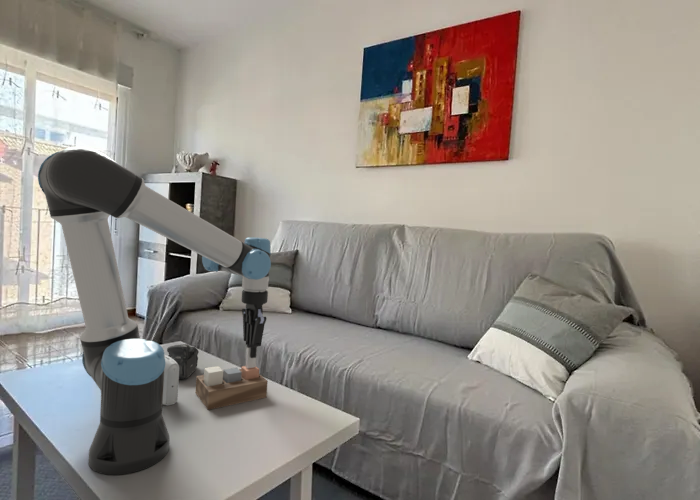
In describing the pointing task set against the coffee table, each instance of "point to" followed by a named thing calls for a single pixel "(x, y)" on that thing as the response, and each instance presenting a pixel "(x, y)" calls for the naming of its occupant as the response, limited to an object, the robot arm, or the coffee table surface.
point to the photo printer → (170, 381)
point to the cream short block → (213, 376)
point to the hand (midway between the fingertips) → (250, 367)
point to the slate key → (231, 375)
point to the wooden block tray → (230, 391)
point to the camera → (184, 359)
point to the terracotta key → (249, 372)
